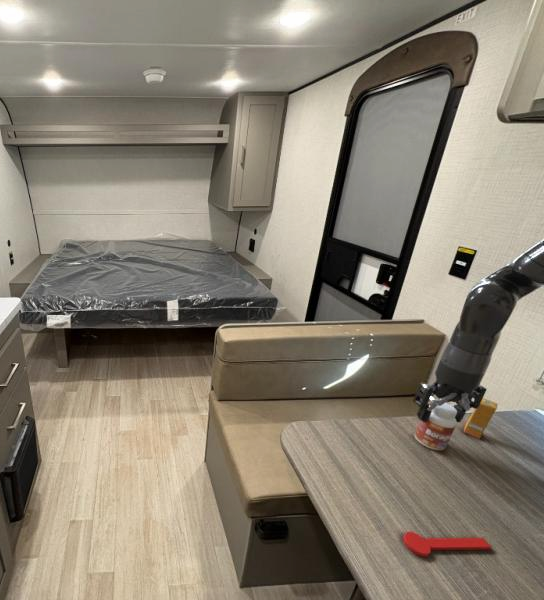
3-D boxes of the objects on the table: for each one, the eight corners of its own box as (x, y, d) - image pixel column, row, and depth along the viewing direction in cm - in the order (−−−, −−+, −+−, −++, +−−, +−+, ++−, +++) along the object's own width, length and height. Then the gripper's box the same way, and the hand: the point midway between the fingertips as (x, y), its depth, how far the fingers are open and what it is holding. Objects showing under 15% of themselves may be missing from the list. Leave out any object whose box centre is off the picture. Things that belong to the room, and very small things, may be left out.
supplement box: (481, 440, 81) (497, 409, 78) (463, 432, 84) (477, 401, 80) (482, 433, 84) (498, 402, 80) (464, 426, 86) (479, 396, 82)
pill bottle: (418, 447, 79) (433, 411, 75) (410, 429, 85) (423, 396, 81) (450, 454, 77) (466, 418, 73) (439, 436, 83) (454, 402, 79)
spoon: (476, 534, 60) (477, 531, 60) (496, 556, 57) (498, 553, 56) (398, 534, 60) (399, 531, 60) (414, 556, 57) (415, 554, 56)
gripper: (446, 373, 69) (422, 431, 75) (511, 373, 69) (481, 431, 75) (418, 355, 76) (398, 409, 82) (477, 354, 76) (453, 409, 82)
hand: (438, 419), depth 78 cm, fingers open, 7 cm apart
